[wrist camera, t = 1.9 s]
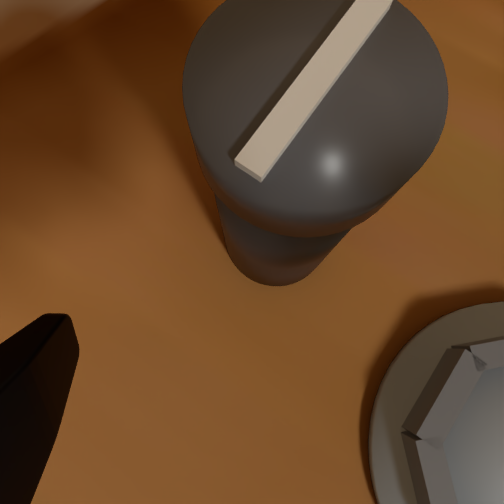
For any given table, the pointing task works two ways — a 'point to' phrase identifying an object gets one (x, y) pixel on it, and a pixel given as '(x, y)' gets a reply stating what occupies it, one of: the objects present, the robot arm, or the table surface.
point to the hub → (443, 414)
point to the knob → (308, 121)
